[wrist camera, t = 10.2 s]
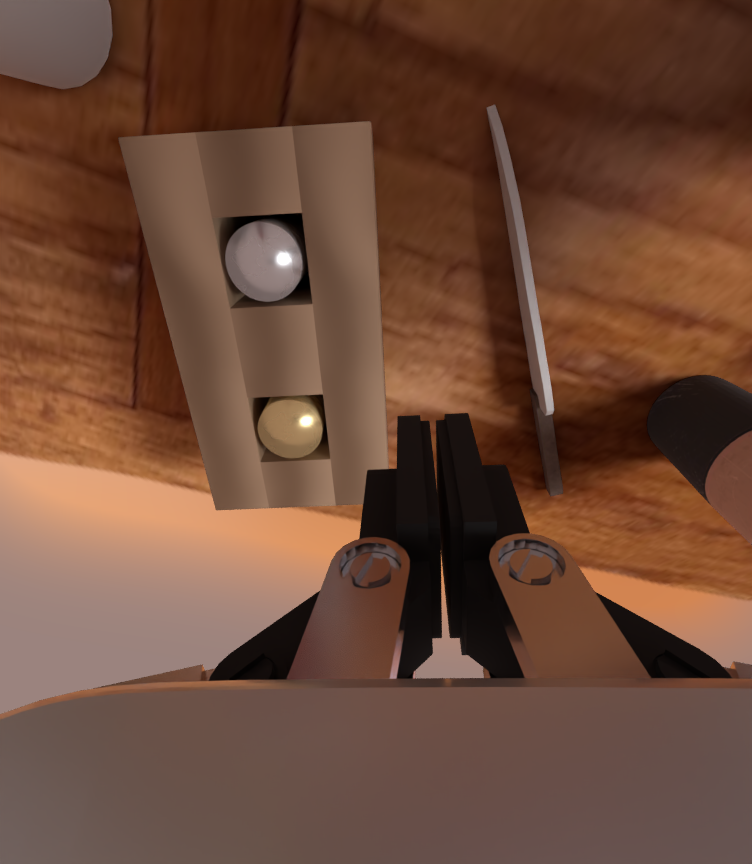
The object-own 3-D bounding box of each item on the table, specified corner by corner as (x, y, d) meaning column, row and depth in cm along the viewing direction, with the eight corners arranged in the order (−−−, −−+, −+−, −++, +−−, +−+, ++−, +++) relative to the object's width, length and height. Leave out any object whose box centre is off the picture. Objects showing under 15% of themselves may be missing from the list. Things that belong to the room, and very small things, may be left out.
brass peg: (330, 353, 36) (318, 400, 29) (335, 401, 38) (325, 456, 31) (278, 356, 37) (252, 403, 29) (285, 404, 38) (263, 459, 31)
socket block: (372, 135, 30) (370, 121, 22) (387, 439, 41) (389, 503, 33) (185, 147, 31) (117, 137, 23) (247, 445, 41) (216, 510, 33)
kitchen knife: (571, 509, 40) (515, 89, 26) (558, 512, 40) (494, 96, 26) (555, 479, 44) (498, 98, 30) (543, 482, 44) (480, 104, 30)
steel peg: (315, 209, 32) (296, 219, 24) (322, 271, 34) (306, 299, 26) (255, 212, 32) (218, 224, 24) (265, 274, 34) (233, 303, 26)
